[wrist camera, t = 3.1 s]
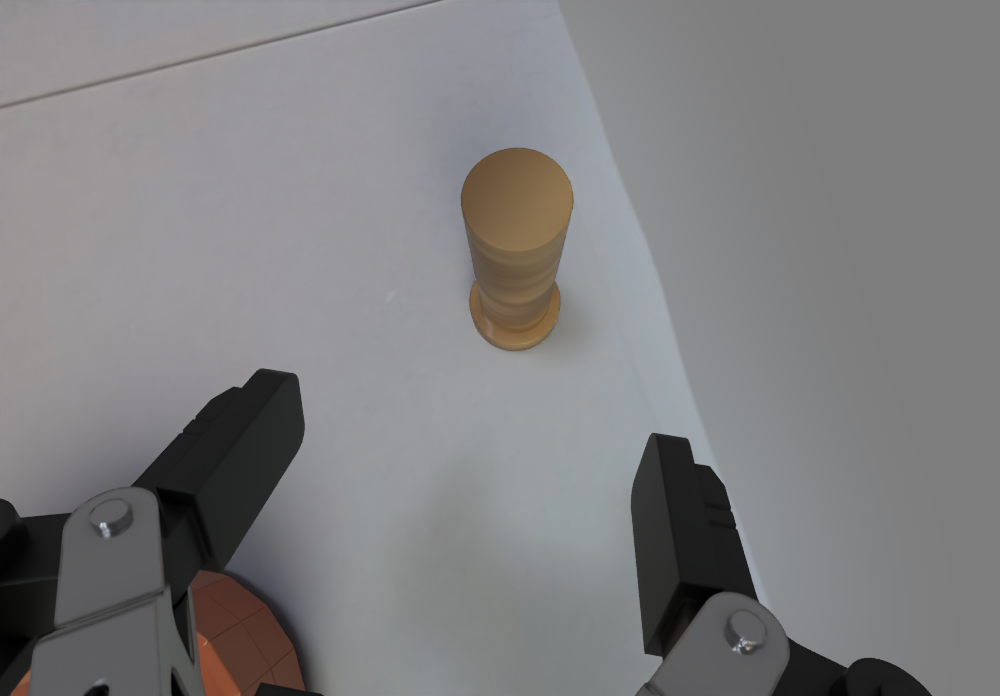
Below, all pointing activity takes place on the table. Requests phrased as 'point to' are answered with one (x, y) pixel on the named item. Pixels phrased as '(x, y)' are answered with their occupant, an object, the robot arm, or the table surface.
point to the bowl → (233, 641)
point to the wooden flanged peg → (516, 244)
